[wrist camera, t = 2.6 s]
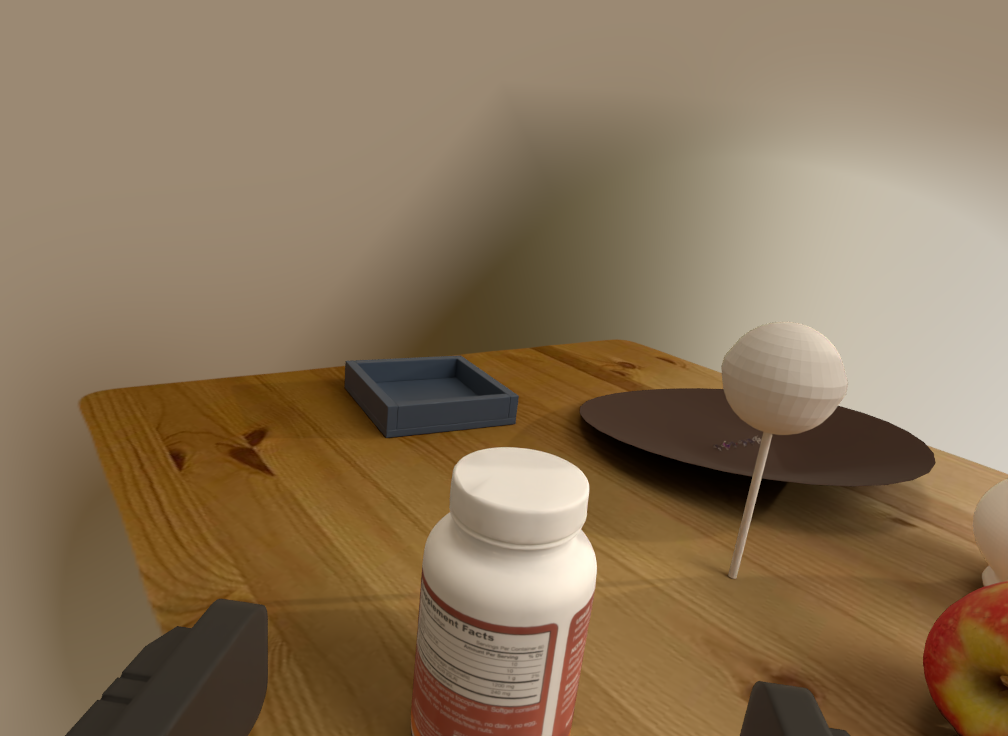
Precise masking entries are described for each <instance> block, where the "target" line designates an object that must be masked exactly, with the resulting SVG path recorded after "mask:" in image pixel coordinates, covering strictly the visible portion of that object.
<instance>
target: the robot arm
mask: <svg viewBox="0 0 1008 736" xmlns="http://www.w3.org/2000/svg"><path fill="white" fill-rule="evenodd" d="M267 682H268V616H267V609H266V607H265V606H264V605H260V604H253V603H247V602H240V601H233V600H227V599H218V600H216V601H215V602H214V603H213V604H212V605H211V606H210V607H209V608H208V609H207V611H206V612H205V613H204V614H203V615H202V617H201V618H200V619H199V620H198V621H197V623H196V624H195V625H194V626H193V627H192V628H186V627H179V626H177V627H175V628H174V629H172V630H171V631H169V632H167V633H166V634H164V635H163V636H161V637H159V638H158V639H156V640H155V641H153V642H152V643H150V644H148V645H147V646H145V647H144V648H143V650H142V651H141V652H140V653H139V654H138V655H137V657H135V659H134V660H133V661H132V662H131V663H130V664H129V665H128V666H127V667H126V669H125V670H124V671H123V672H122V675H121V677H120V678H117V679H116V680H115V681H114V682H113V683H112V684H111V685H110V686H109V687H108V689H107V690H106V691H105V692H104V693H103V694H102V698H101V700H97V701H96V702H95V703H94V704H93V705H92V706H91V707H90V709H89V710H88V711H87V712H86V713H85V714H84V715H83V717H81V719H80V720H79V721H78V722H77V723H76V724H75V725H74V727H72V729H71V730H70V731H69V732H68V733H67V734H66V735H65V736H248V735H249V733H250V731H251V729H252V728H253V726H254V724H255V722H256V720H257V718H258V716H259V714H260V711H261V708H262V705H263V702H264V699H265V694H266V689H267ZM740 736H850V735H849V734H848V733H847V732H846V731H845V730H839V729H832V728H829V727H828V725H827V723H826V721H825V719H824V716H823V714H822V712H821V710H820V708H819V706H818V704H817V702H816V700H815V698H814V696H813V694H812V693H811V692H810V691H809V690H808V689H806V688H801V687H795V686H788V685H781V684H775V683H768V682H761V681H758V682H756V683H755V685H754V686H753V689H752V692H751V695H750V699H749V703H748V707H747V711H746V714H745V718H744V722H743V726H742V729H741V733H740Z"/></svg>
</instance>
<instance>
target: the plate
mask: <svg viewBox="0 0 1008 736" xmlns="http://www.w3.org/2000/svg"><path fill="white" fill-rule="evenodd" d="M580 414H581V416H582V417H583V418H584V419H585V421H586V422H588V423H589V424H590V425H592V426H593V427H595V428H596V429H598V430H599V431H601V432H603V433H605V434H607V435H609V436H612V437H614V438H616V439H618V440H620V441H622V442H625V443H628V444H630V445H633V446H636V447H638V448H641V449H644V450H646V451H649V452H652V453H656V454H659V455H663V456H666V457H669V458H673V459H676V460H679V461H683V462H687V463H691V464H695V465H699V466H703V467H708V468H712V469H716V470H720V471H725V472H730V473H736V474H742V475H747V476H753V473H754V469H755V465H756V461H757V457H758V453H759V448H760V444H761V440H762V436H763V431H760V430H758V429H755V428H753V427H752V426H750V425H749V424H747V423H746V422H744V421H743V420H742V419H741V418H740V417H739V416H738V415H737V414H736V413H735V412H734V411H733V409H732V408H731V406H730V404H729V403H728V401H727V399H726V396H725V393H724V389H700V388H697V389H656V390H642V391H631V392H623V393H616V394H610V395H605V396H601V397H597V398H594V399H591V400H589V401H586V402H585V403H584V404H583V405H582V406H581V407H580ZM934 465H935V458H934V453H933V452H932V451H931V450H930V449H929V447H928V446H927V445H926V444H925V443H924V442H923V441H921V440H920V439H918V438H917V437H915V436H914V435H912V434H911V433H909V432H907V431H905V430H903V429H901V428H899V427H897V426H895V425H893V424H891V423H889V422H886V421H883V420H881V419H878V418H875V417H873V416H870V415H867V414H865V413H861V412H858V411H854V410H851V409H847V408H844V407H840V406H837V408H836V409H835V410H834V412H833V413H832V414H831V415H830V416H829V417H828V418H827V419H826V420H825V421H824V422H823V423H821V424H820V425H818V426H816V427H814V428H813V429H810V430H808V431H805V432H802V433H798V434H790V435H776V434H772V438H771V442H770V446H769V450H768V454H767V458H766V462H765V466H764V470H763V474H762V478H764V479H770V480H779V481H787V482H796V483H804V484H813V485H835V486H872V485H889V484H894V483H900V482H905V481H910V480H914V479H916V478H918V477H920V476H923V475H925V474H927V473H929V472H930V470H931V469H932V468H933V466H934Z"/></svg>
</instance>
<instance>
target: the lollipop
mask: <svg viewBox="0 0 1008 736" xmlns="http://www.w3.org/2000/svg"><path fill="white" fill-rule="evenodd" d="M722 380H723V389H724V393H725V396H726V399H727V401H728V403H729V404H730V406H731V408H732V409H733V411H734V412H735V413H736V414H737V415H738V416H739V417H740V418H741V419H742V420H743V421H744V422H746V423H747V424H749V425H750V426H752V427H753V428H755V429H758V430H760V431H763V436H762V440H761V444H760V448H759V453H758V457H757V461H756V465H755V469H754V473H753V477H752V481H751V485H750V489H749V493H748V497H747V501H746V505H745V509H744V513H743V517H742V521H741V525H740V529H739V534H738V538H737V542H736V546H735V550H734V554H733V558H732V562H731V566H730V570H729V574H728V576H729V577H731V578H734V579H735V578H736V577H737V574H738V570H739V566H740V562H741V558H742V554H743V550H744V546H745V542H746V538H747V534H748V530H749V526H750V522H751V518H752V514H753V510H754V506H755V502H756V498H757V494H758V490H759V486H760V482H761V478H762V474H763V470H764V466H765V462H766V458H767V454H768V450H769V446H770V442H771V438H772V434H776V435H790V434H798V433H802V432H805V431H808V430H810V429H813V428H814V427H816V426H818V425H820V424H821V423H823V422H824V421H825V420H826V419H827V418H828V417H829V416H830V415H831V414H832V413H833V412H834V410H835V409H836V408H837V406H838V405H839V403H840V402H841V401H842V399H843V398H844V396H845V395H846V392H847V385H848V380H847V376H846V373H845V369H844V366H843V362H842V359H841V357H840V355H839V353H838V352H837V349H836V348H835V347H834V346H833V344H832V343H831V342H830V341H829V340H828V339H827V338H826V337H825V336H824V335H822V334H821V333H819V332H818V331H817V330H815V329H812V328H810V327H808V326H805V325H803V324H799V323H794V322H774V323H769V324H765V325H761V326H759V327H757V328H755V329H753V330H751V331H749V332H748V333H746V334H745V335H744V336H742V337H741V338H740V339H739V340H738V341H737V342H736V344H735V345H734V346H733V347H732V348H731V349H730V350H729V351H728V352H727V354H726V355H725V357H724V360H723V363H722Z"/></svg>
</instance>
